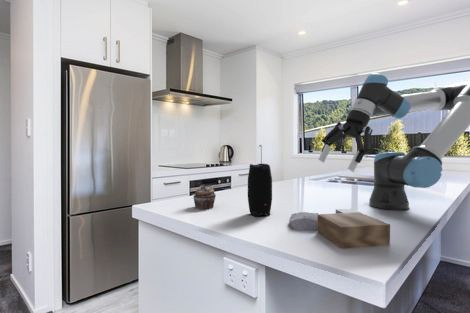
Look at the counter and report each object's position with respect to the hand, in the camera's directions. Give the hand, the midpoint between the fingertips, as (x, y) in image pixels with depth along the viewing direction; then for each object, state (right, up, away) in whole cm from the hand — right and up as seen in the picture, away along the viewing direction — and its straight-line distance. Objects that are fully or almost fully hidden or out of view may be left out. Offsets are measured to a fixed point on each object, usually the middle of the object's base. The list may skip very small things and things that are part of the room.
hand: (335, 165), depth 106 cm
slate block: (+1, -20, -9) cm, 22 cm away
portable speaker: (-27, -19, +7) cm, 34 cm away
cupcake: (-50, -19, +20) cm, 57 cm away
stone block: (-13, -20, -8) cm, 25 cm away
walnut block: (-3, -21, -22) cm, 30 cm away
